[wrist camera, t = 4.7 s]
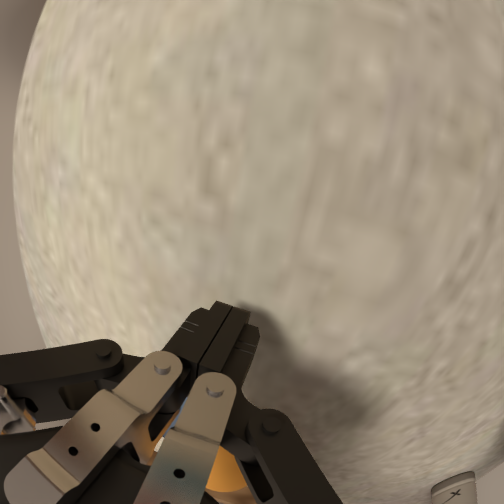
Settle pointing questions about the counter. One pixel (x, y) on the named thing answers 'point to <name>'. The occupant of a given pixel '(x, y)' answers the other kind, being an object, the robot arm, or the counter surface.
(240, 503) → the wall
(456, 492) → the travel mug
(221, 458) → the ball
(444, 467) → the counter surface
